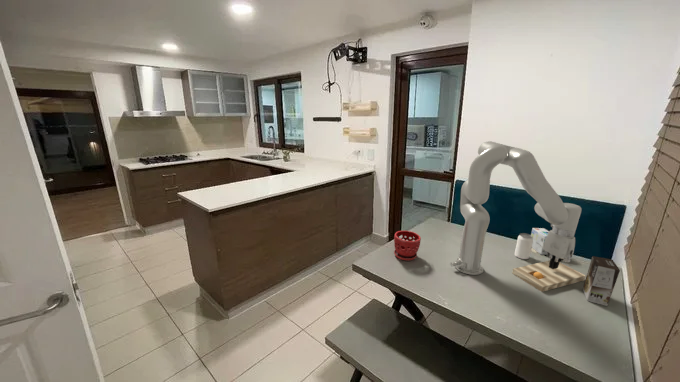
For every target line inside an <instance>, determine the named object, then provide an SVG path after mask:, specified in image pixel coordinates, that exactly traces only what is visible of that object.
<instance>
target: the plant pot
mask: <svg viewBox="0 0 680 382" xmlns="http://www.w3.org/2000/svg"><path fill="white" fill-rule="evenodd" d="M400 236H401V238H400ZM421 240H422V238H421V236H420V235H419V234H418V233H417V232H414V231H410V230H398V231H396V232H395V233H394V236H393V242H394V243H393V245H394V251H393V254H394V256H395V257H396V258H398V259H399V260H401V261H402V260H403V261H408V262H409V261H413V260H415V259H416V258H417V255H418V251H419V249H420V246H421Z"/></svg>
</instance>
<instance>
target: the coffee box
mask: <svg viewBox="0 0 680 382" xmlns="http://www.w3.org/2000/svg"><path fill="white" fill-rule="evenodd" d="M620 271H621V270H620V268H619V267H618V265H617V264H616V263H615V261H614V259H612V258H611V259H610V258H605V257H599V256H594V255H592V257H591V258H590V263H589V266H588V270H587V273H586V277H585V280H584V284H583V287H582V290H583V293H584V296H585V299H586V301H587V302H591V303H594V304H598V305H601V306H605V307H607V306H609V303H610V299H611V297H612V294H613V292H614V289H615V286H616V283H617V280H618V277H619V273H620Z"/></svg>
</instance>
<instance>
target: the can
mask: <svg viewBox="0 0 680 382" xmlns="http://www.w3.org/2000/svg"><path fill="white" fill-rule="evenodd" d="M532 244H533V236H531V234H529V233H526V232H522V233H521V232H520V233H519V235H518V236H517V240H516V246H515V250H514V256H515V257H516V258H518V259H521V260H528V259H529V260H530V256H531V252H532V249H533V248H532Z"/></svg>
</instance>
